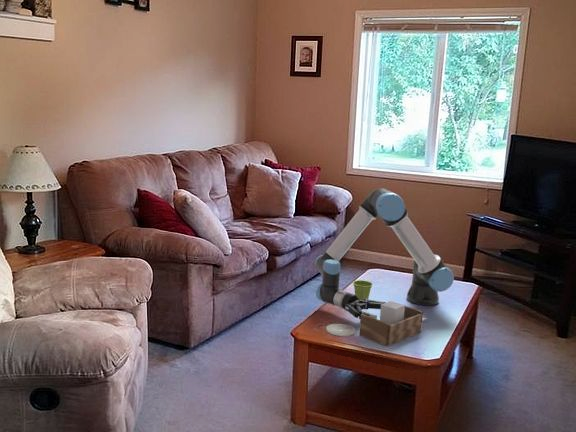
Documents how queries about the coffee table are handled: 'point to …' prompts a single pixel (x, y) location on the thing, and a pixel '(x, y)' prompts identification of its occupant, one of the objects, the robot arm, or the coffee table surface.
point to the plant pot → (362, 289)
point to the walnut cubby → (391, 327)
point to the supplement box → (392, 312)
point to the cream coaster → (340, 330)
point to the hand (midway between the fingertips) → (386, 315)
